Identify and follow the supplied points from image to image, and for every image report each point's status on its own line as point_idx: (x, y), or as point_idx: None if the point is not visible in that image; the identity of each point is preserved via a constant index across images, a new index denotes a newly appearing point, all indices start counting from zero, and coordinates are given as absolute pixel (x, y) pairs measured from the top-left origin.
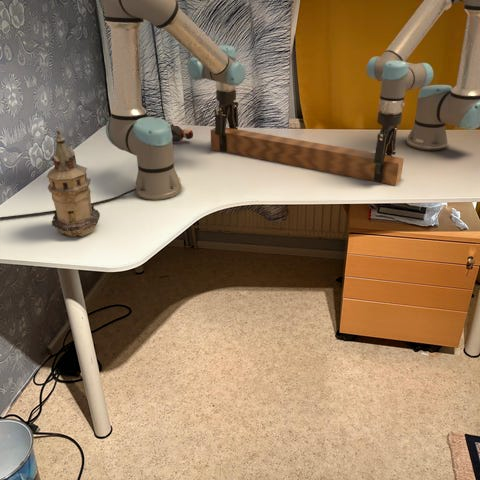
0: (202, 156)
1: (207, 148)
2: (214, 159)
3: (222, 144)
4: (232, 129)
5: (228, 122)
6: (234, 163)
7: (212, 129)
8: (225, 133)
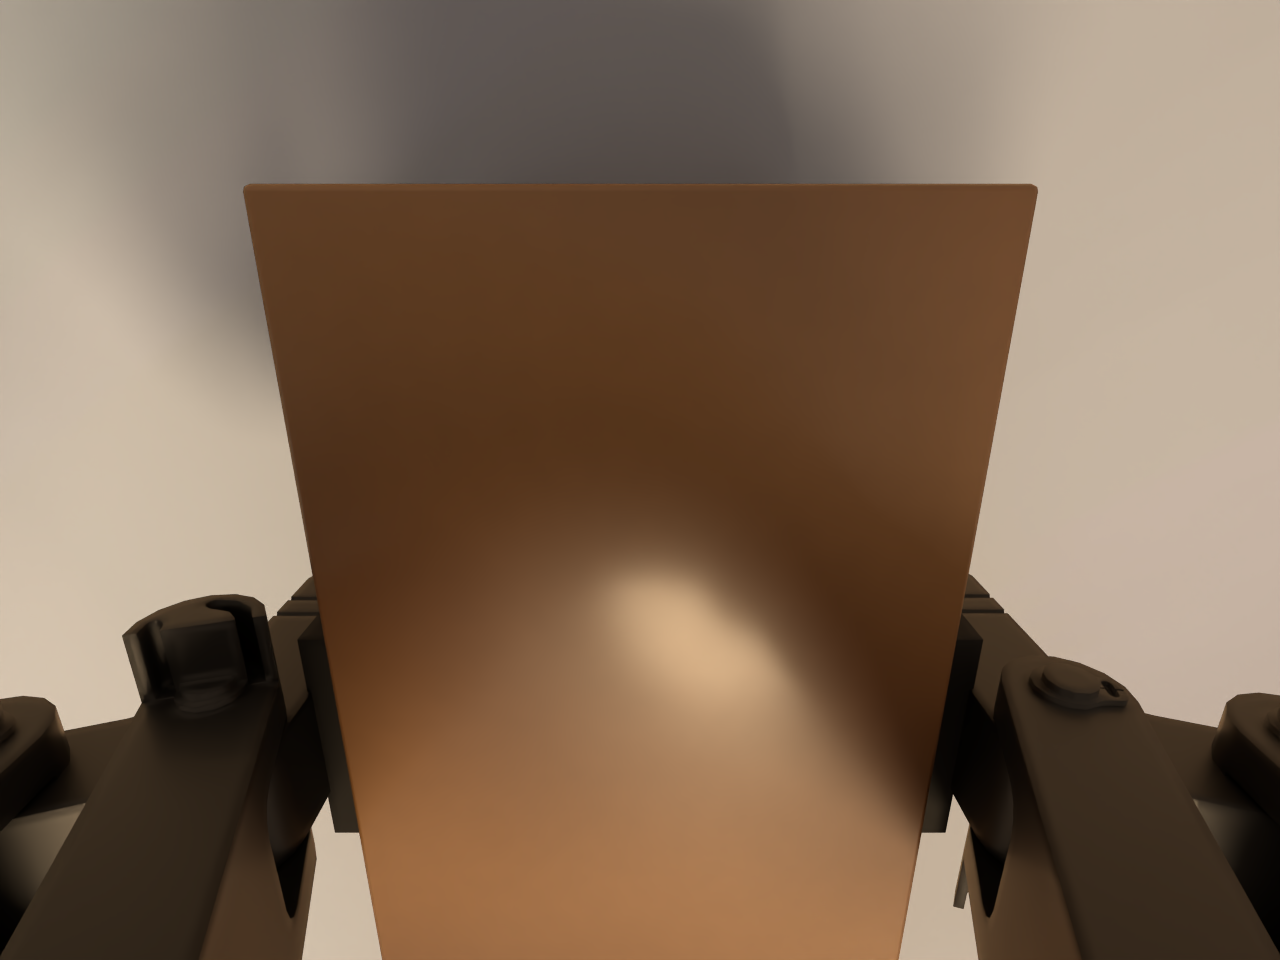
0: (37, 286)
1: (476, 84)
2: (96, 567)
3: None
4: (803, 903)
5: (1068, 925)
6: None
7: (382, 220)
8: (377, 859)
